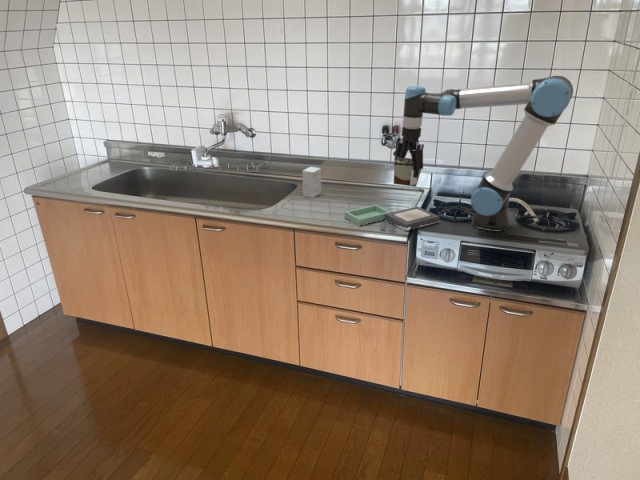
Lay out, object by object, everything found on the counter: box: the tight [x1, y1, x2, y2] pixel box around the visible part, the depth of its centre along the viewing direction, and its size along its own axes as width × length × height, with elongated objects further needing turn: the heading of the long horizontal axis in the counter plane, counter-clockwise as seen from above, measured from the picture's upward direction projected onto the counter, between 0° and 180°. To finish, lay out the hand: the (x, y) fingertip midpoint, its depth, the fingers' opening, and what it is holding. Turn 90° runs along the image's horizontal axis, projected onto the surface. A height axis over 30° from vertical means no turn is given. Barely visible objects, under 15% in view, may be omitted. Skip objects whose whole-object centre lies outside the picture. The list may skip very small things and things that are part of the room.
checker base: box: [384, 206, 440, 231], centre depth 212 cm, size 14×18×4 cm
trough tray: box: [344, 204, 392, 226], centre depth 216 cm, size 11×17×3 cm, turn 121°
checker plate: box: [394, 209, 431, 222], centre depth 212 cm, size 9×13×1 cm
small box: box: [301, 166, 322, 198], centre depth 242 cm, size 8×6×13 cm
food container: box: [392, 157, 422, 188], centre depth 206 cm, size 12×6×10 cm, turn 80°
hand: (406, 181), depth 206 cm, fingers open, 8 cm apart
